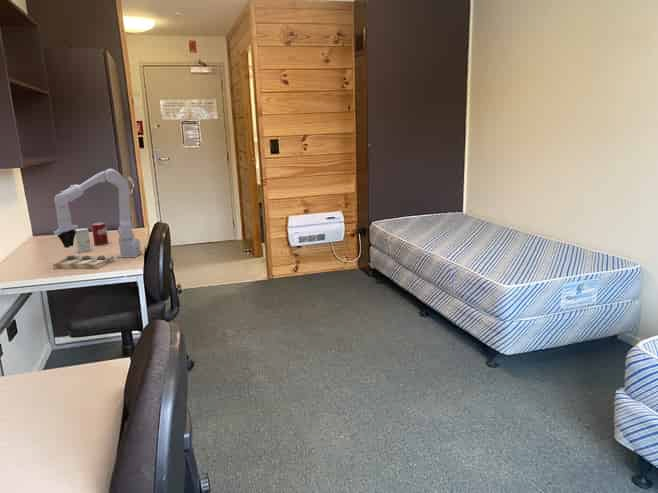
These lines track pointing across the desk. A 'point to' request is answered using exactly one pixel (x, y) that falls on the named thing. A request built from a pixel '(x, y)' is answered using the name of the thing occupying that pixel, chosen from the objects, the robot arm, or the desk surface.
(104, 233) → the soda can
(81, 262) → the button board
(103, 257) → the button
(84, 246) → the skincare box
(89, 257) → the middle button
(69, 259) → the button
